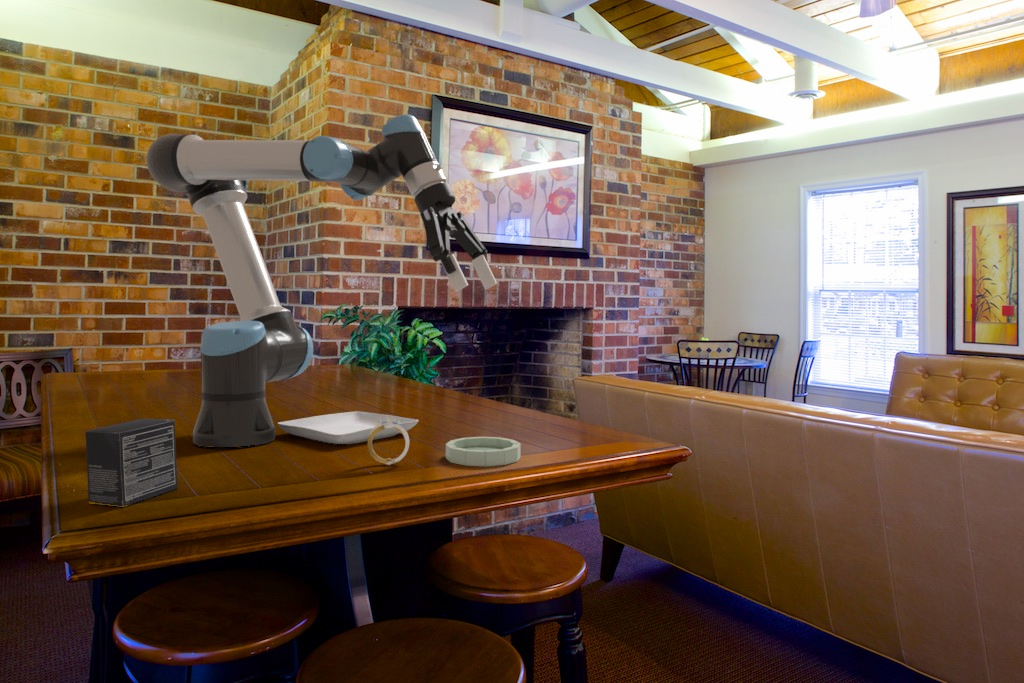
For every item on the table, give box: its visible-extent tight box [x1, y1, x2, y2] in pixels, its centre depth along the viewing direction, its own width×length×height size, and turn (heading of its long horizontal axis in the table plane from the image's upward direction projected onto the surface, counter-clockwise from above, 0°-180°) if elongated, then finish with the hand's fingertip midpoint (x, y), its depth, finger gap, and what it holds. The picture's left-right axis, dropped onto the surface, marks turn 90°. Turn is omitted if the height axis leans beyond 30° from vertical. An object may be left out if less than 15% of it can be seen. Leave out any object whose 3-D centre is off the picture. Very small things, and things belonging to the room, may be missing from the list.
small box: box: [85, 418, 179, 506], centre depth 103 cm, size 11×6×10 cm, turn 163°
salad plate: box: [276, 410, 419, 446], centre depth 150 cm, size 21×21×3 cm
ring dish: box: [445, 436, 522, 467], centre depth 130 cm, size 13×13×2 cm
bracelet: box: [367, 418, 410, 466], centre depth 124 cm, size 7×3×8 cm, turn 93°
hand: (477, 287), depth 140 cm, fingers open, 13 cm apart
